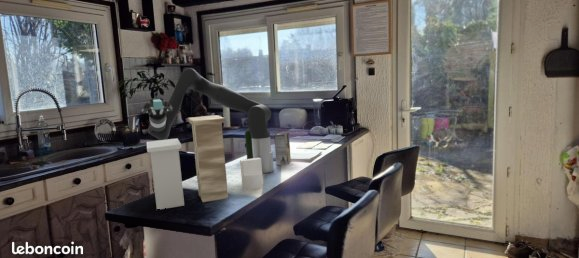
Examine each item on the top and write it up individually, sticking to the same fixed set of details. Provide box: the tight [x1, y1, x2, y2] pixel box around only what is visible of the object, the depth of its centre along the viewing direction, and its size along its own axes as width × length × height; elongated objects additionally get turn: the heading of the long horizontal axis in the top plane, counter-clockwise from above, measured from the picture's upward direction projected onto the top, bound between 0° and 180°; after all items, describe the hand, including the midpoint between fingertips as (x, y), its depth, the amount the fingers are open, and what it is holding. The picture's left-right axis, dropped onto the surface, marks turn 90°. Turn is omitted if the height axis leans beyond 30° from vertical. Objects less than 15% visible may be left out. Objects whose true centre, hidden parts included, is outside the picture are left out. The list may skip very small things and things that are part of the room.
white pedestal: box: [146, 138, 185, 210], centre depth 153 cm, size 18×12×24 cm, turn 20°
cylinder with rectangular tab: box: [239, 158, 264, 190], centre depth 170 cm, size 9×9×12 cm
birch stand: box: [187, 114, 229, 203], centre depth 158 cm, size 18×12×32 cm, turn 20°
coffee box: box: [273, 132, 292, 166], centre depth 212 cm, size 9×6×16 cm
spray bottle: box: [244, 117, 253, 159], centre depth 227 cm, size 10×10×25 cm
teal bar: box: [153, 98, 163, 110], centre depth 164 cm, size 24×3×3 cm, turn 20°
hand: (156, 100), depth 170 cm, fingers closed on teal bar, 3 cm apart
